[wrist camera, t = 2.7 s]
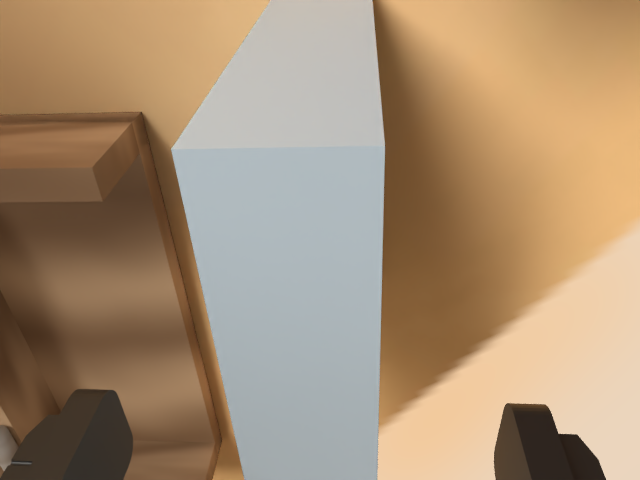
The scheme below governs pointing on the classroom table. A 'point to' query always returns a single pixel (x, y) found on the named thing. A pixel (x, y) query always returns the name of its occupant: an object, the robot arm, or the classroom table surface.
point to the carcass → (96, 291)
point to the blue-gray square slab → (294, 238)
